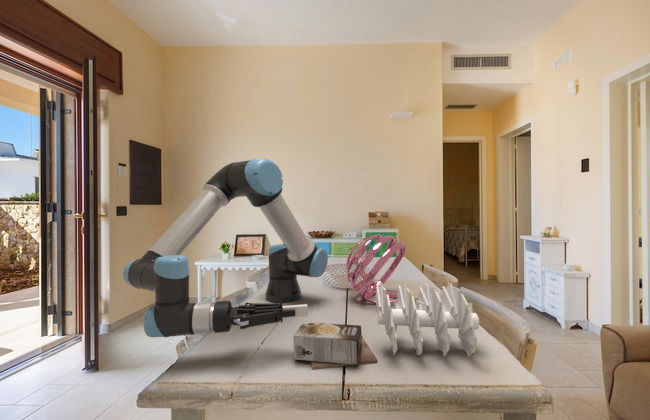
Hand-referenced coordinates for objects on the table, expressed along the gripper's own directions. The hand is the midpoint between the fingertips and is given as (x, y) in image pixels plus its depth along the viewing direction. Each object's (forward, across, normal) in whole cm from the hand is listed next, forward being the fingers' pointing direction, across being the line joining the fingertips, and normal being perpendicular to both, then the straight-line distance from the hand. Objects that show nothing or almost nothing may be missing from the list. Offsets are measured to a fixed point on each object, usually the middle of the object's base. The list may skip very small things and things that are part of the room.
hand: (307, 310), depth 80 cm
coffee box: (-3, +1, -7) cm, 8 cm away
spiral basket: (+33, -40, -11) cm, 53 cm away
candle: (+36, -14, -11) cm, 40 cm away
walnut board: (+8, 0, -11) cm, 14 cm away
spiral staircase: (+31, +6, -11) cm, 33 cm away
